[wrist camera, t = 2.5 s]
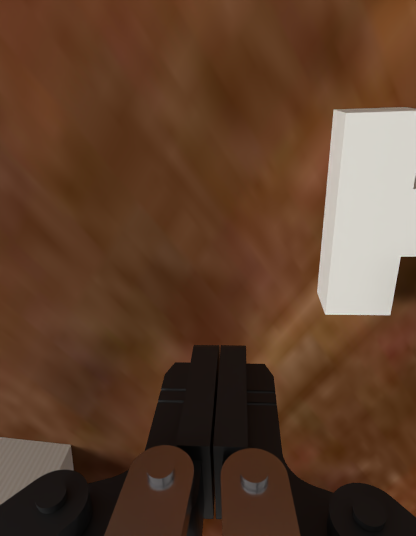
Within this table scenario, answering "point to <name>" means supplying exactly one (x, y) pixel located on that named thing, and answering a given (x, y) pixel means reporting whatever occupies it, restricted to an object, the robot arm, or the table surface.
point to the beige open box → (29, 463)
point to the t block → (368, 209)
